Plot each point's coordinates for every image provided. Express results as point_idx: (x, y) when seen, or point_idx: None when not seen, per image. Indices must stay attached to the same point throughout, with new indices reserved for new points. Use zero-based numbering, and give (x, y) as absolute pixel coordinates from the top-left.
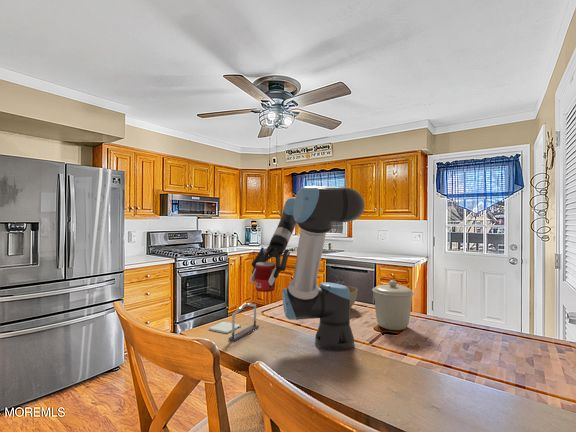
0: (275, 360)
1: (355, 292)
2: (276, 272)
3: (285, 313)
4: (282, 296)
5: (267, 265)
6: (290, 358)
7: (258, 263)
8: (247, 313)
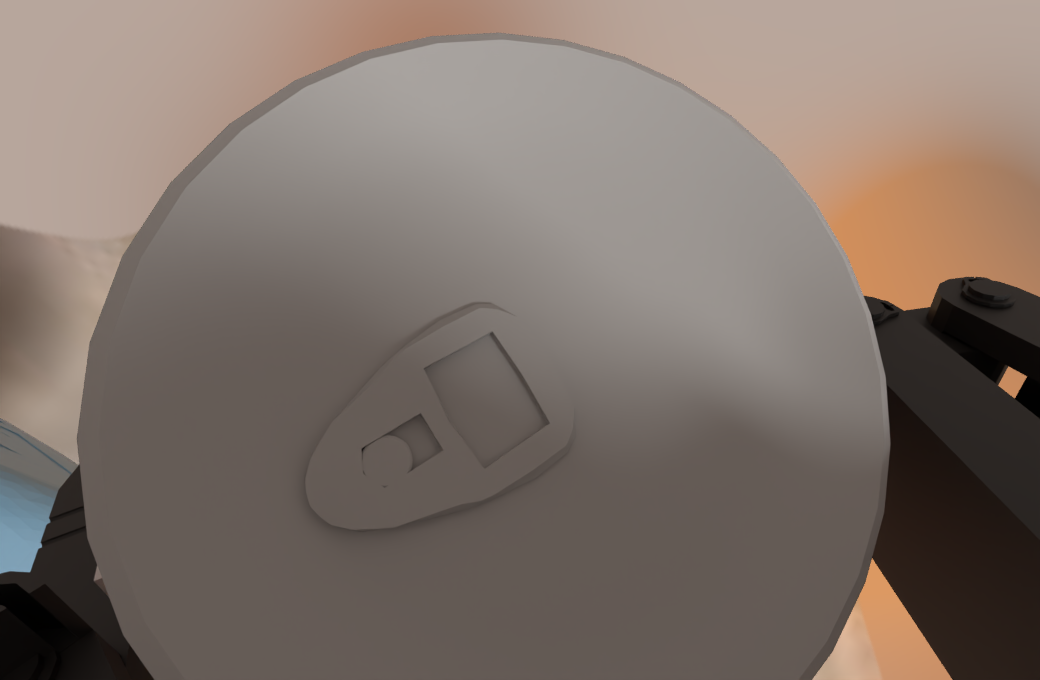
0: (74, 287)
1: None
2: (70, 542)
3: (7, 425)
4: (25, 467)
5: (185, 195)
6: (12, 369)
7: (757, 239)
8: (847, 631)
